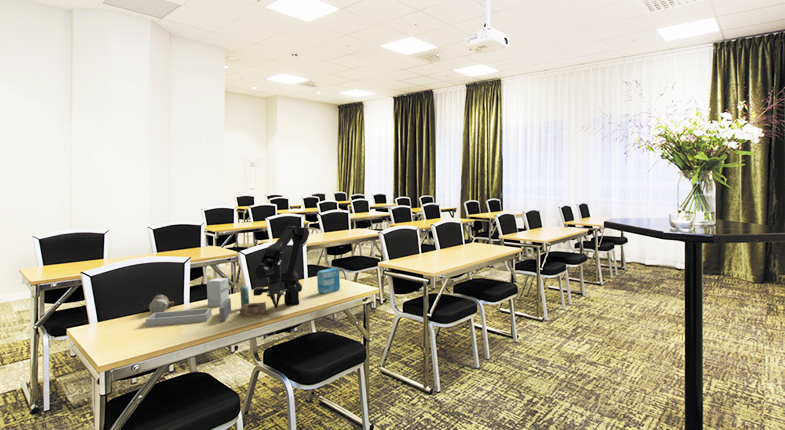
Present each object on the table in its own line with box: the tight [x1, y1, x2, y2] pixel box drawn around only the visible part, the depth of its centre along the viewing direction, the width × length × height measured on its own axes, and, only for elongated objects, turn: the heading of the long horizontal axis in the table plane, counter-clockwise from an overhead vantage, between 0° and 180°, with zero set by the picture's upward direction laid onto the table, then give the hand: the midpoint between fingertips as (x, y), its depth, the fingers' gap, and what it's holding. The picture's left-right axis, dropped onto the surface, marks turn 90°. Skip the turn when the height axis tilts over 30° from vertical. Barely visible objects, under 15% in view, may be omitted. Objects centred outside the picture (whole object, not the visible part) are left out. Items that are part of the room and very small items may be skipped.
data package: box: [316, 267, 341, 295], centre depth 227 cm, size 12×4×12 cm, turn 139°
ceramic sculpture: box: [148, 293, 175, 314], centre depth 200 cm, size 11×9×15 cm
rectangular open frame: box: [145, 307, 213, 327], centre depth 184 cm, size 24×10×3 cm, turn 102°
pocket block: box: [239, 301, 267, 319], centre depth 191 cm, size 10×10×4 cm
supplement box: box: [206, 277, 230, 308], centre depth 208 cm, size 7×7×13 cm
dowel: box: [239, 286, 250, 308], centre depth 200 cm, size 4×4×10 cm
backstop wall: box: [218, 298, 232, 323], centre depth 188 cm, size 2×16×6 cm, turn 12°
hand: (276, 308), depth 193 cm, fingers closed
